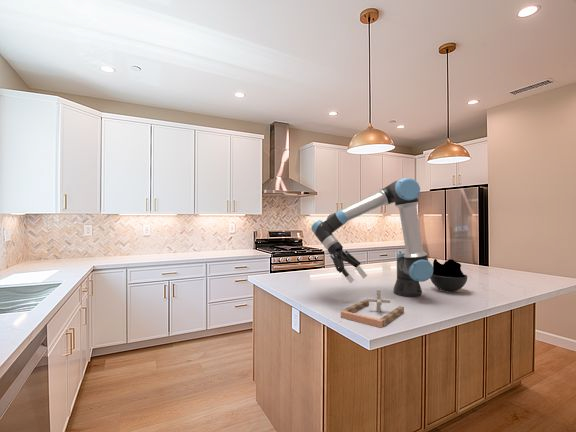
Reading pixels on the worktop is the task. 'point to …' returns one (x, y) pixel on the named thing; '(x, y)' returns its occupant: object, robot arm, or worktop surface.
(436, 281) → the bowl of black rocks
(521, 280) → the worktop surface
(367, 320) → the band bar
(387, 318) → the brown wooden frame
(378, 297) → the pipe connector
